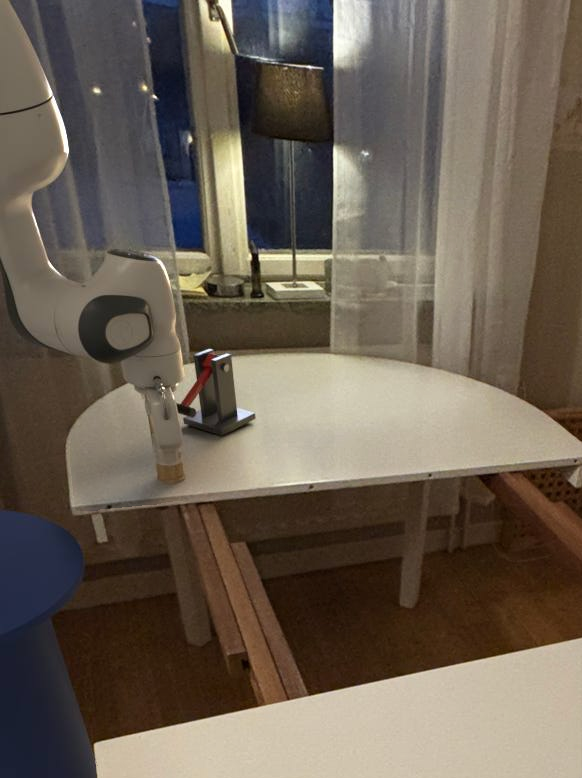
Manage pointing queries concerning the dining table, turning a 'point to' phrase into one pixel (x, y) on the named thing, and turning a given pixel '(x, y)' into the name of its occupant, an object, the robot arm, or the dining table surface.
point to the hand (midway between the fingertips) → (167, 450)
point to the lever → (196, 388)
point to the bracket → (218, 398)
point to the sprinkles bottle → (165, 470)
